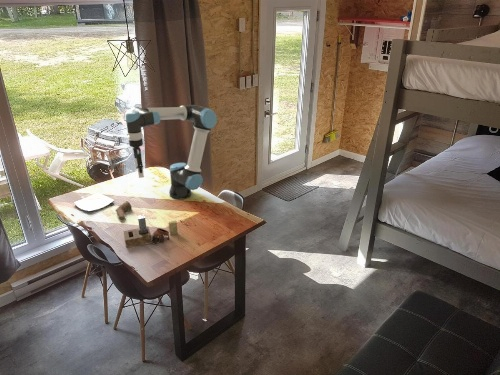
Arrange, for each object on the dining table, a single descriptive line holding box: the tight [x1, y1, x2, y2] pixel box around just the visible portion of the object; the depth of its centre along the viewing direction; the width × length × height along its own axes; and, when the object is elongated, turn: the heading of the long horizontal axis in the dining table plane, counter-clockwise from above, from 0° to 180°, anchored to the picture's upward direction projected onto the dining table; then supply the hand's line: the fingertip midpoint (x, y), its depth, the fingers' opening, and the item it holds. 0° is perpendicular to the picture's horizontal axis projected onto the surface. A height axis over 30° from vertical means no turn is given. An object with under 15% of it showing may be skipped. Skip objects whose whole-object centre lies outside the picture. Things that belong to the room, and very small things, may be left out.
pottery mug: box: [151, 227, 170, 246], centre depth 219 cm, size 12×10×8 cm
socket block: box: [123, 226, 153, 249], centre depth 220 cm, size 14×10×5 cm
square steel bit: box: [137, 214, 147, 235], centre depth 218 cm, size 4×4×14 cm
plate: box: [73, 192, 115, 213], centre depth 258 cm, size 20×20×3 cm
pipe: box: [115, 200, 132, 222], centre depth 246 cm, size 6×17×10 cm
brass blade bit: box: [168, 220, 179, 236], centre depth 226 cm, size 4×2×8 cm, turn 112°
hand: (139, 172), depth 228 cm, fingers open, 13 cm apart
